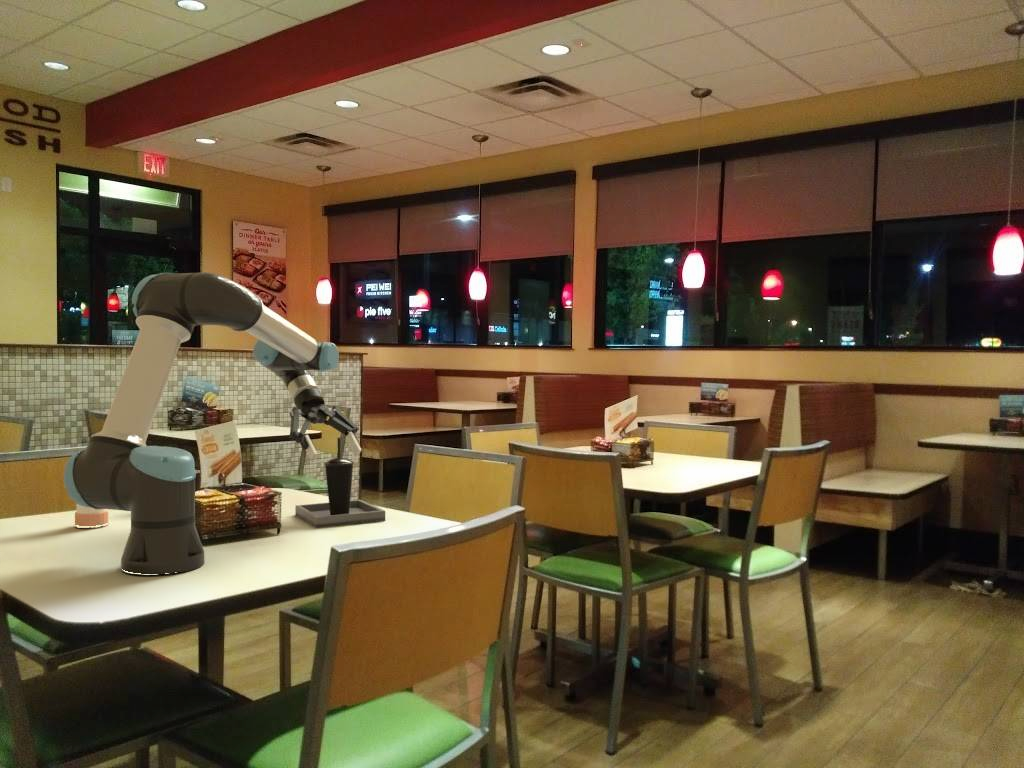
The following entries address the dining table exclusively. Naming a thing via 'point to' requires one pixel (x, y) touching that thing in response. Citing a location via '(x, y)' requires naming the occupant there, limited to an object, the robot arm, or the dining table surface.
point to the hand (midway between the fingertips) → (336, 455)
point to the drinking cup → (339, 483)
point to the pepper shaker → (90, 516)
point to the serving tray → (357, 514)
